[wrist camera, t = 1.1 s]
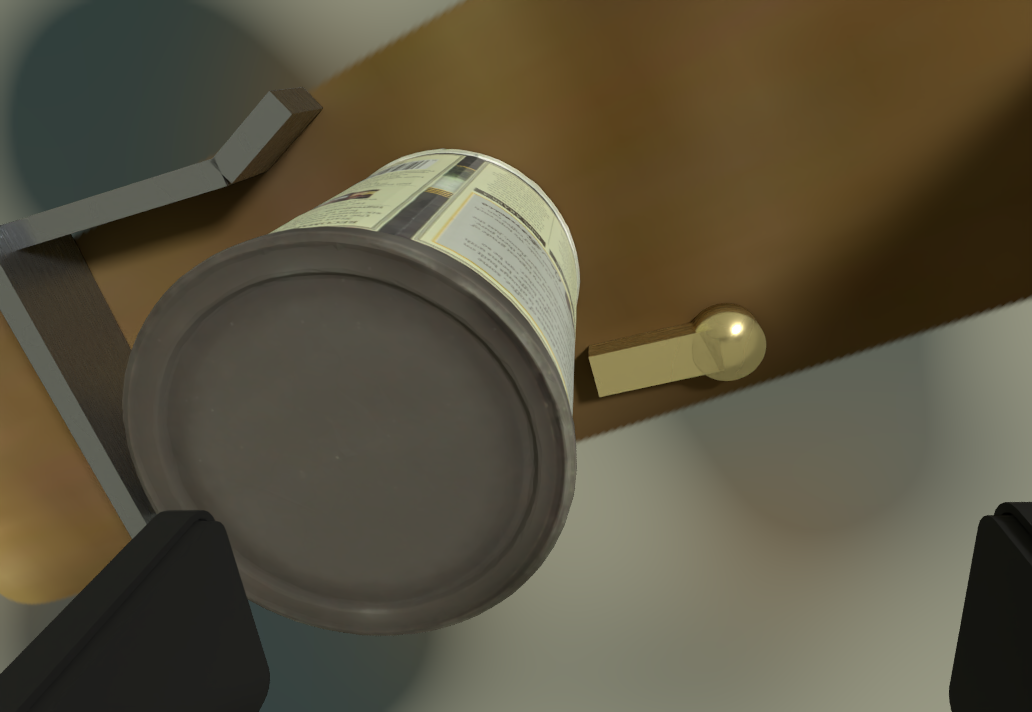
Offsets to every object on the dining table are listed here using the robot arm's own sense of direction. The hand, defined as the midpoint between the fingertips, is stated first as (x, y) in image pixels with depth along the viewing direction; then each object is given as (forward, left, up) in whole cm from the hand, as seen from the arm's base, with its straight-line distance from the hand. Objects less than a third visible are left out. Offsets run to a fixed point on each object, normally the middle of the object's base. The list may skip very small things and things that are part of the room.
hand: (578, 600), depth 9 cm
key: (-1, +5, -20) cm, 21 cm away
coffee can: (+6, 0, -20) cm, 21 cm away
